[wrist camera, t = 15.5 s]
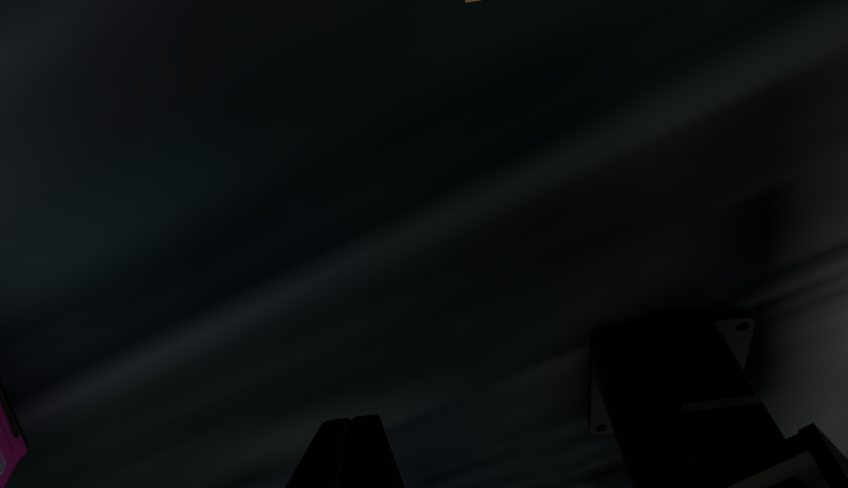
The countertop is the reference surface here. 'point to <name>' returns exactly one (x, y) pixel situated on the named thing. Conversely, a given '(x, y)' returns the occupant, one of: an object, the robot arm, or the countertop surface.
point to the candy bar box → (9, 443)
